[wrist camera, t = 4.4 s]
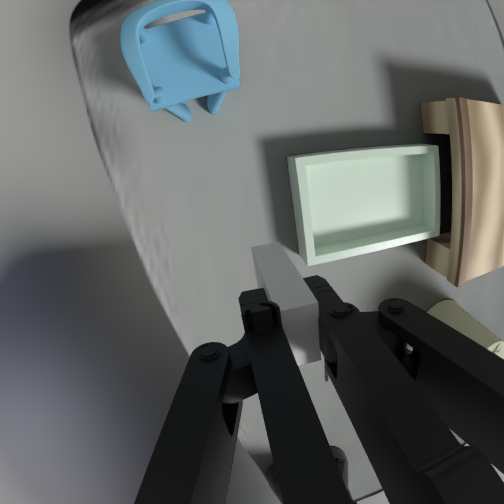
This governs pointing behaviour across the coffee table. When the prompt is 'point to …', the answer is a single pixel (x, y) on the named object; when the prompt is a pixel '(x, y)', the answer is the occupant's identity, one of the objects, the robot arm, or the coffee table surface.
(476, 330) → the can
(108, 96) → the coffee table surface
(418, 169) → the sage tray
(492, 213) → the oak shelf
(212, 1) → the chair
